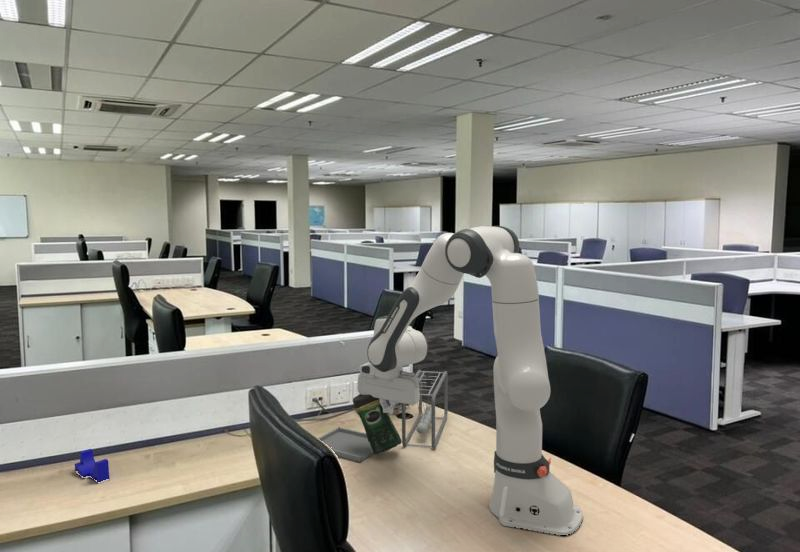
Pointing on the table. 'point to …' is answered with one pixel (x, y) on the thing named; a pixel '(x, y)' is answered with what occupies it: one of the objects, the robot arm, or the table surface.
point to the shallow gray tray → (348, 444)
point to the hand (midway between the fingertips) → (388, 413)
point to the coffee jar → (376, 424)
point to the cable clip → (92, 466)
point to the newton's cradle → (427, 411)
